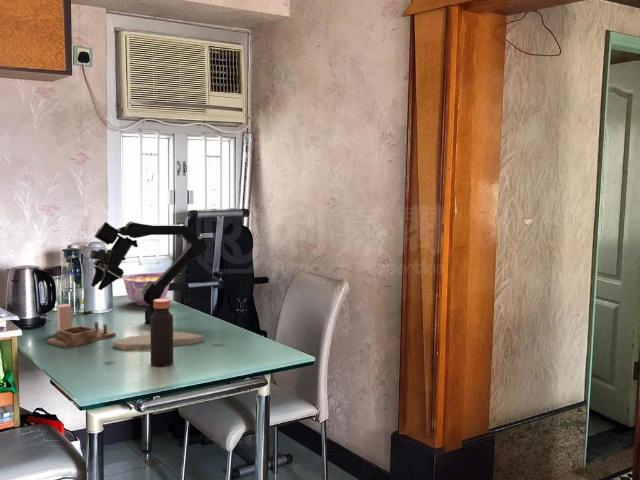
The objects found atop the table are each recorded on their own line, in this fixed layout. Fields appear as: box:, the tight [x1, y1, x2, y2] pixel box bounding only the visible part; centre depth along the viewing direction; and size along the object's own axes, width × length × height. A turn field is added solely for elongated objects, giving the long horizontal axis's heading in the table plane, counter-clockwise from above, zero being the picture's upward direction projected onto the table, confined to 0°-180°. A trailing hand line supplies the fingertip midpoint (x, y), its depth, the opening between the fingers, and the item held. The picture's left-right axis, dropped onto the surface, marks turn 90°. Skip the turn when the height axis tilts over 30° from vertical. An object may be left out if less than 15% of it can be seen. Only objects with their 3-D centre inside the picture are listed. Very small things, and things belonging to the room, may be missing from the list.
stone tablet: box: [112, 331, 204, 351], centre depth 231 cm, size 16×30×2 cm, turn 122°
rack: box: [47, 321, 117, 349], centre depth 232 cm, size 20×10×4 cm, turn 144°
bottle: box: [149, 298, 174, 368], centre depth 205 cm, size 7×7×20 cm
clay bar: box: [56, 303, 73, 331], centre depth 239 cm, size 4×4×10 cm
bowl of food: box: [123, 273, 171, 307], centre depth 290 cm, size 20×20×12 cm
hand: (95, 287), depth 245 cm, fingers open, 9 cm apart
